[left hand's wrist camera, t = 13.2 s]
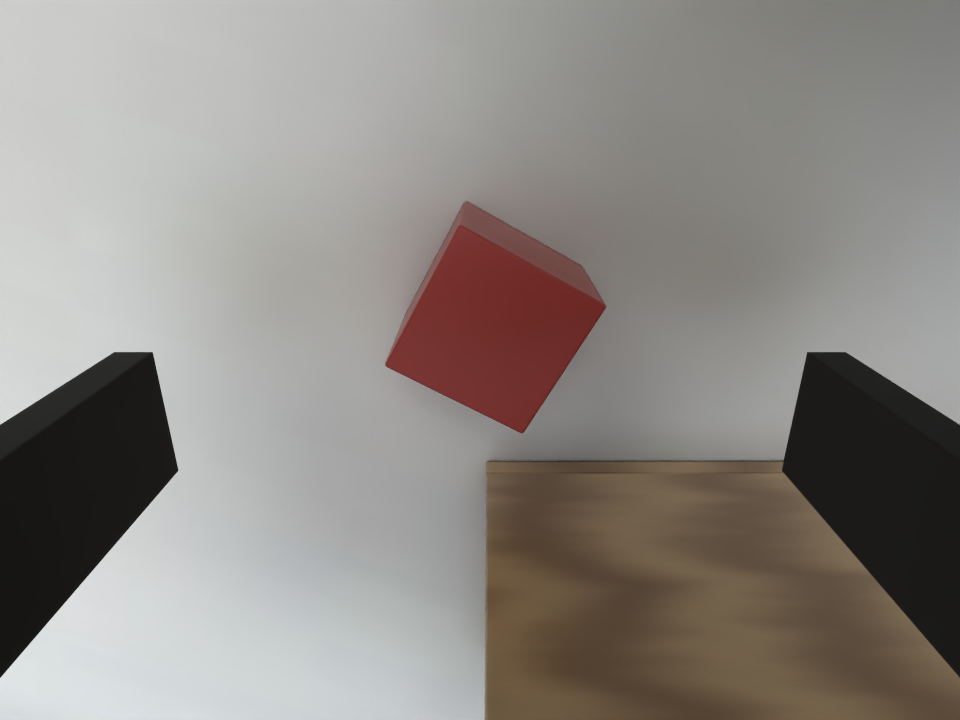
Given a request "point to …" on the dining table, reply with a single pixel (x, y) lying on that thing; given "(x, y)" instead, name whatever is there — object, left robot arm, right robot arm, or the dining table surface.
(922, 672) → the brown hollow rectangular box
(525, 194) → the dining table surface
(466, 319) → the block
